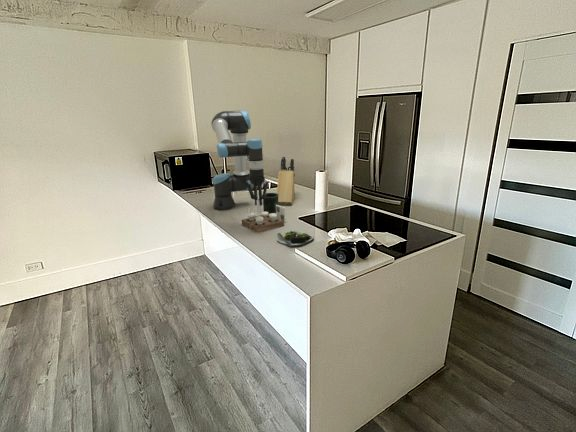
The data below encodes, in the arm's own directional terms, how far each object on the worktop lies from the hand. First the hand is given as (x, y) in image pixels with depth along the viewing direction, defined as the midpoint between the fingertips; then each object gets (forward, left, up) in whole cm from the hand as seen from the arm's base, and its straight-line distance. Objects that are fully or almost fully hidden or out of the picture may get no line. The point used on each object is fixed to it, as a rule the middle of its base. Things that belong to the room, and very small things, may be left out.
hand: (259, 210), depth 174 cm
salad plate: (+26, +5, -11) cm, 29 cm away
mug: (-24, +23, -11) cm, 35 cm away
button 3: (-9, +9, -10) cm, 16 cm away
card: (-5, +19, -11) cm, 22 cm away
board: (-5, +5, -11) cm, 13 cm away
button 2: (0, 0, -9) cm, 9 cm away
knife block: (-42, +48, -11) cm, 65 cm away
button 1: (-9, 0, -9) cm, 13 cm away
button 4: (0, +9, -9) cm, 13 cm away
